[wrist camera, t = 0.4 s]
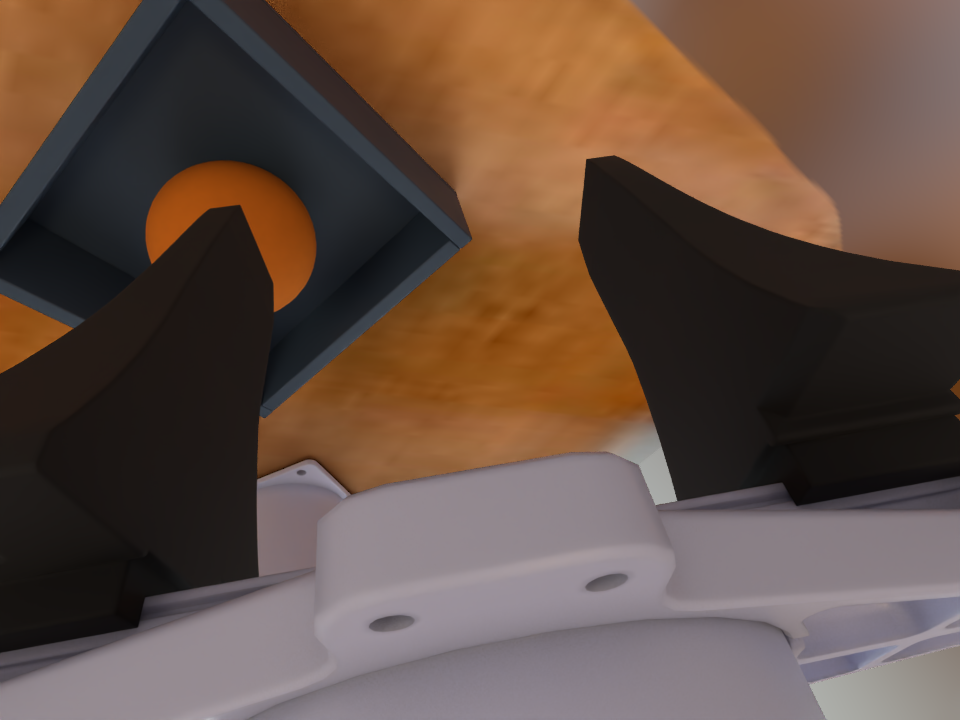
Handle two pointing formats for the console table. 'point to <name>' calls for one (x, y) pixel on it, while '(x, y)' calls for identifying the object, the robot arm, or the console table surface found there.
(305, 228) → the orange
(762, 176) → the console table surface
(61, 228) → the dark gray tray
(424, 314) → the console table surface
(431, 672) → the robot arm
